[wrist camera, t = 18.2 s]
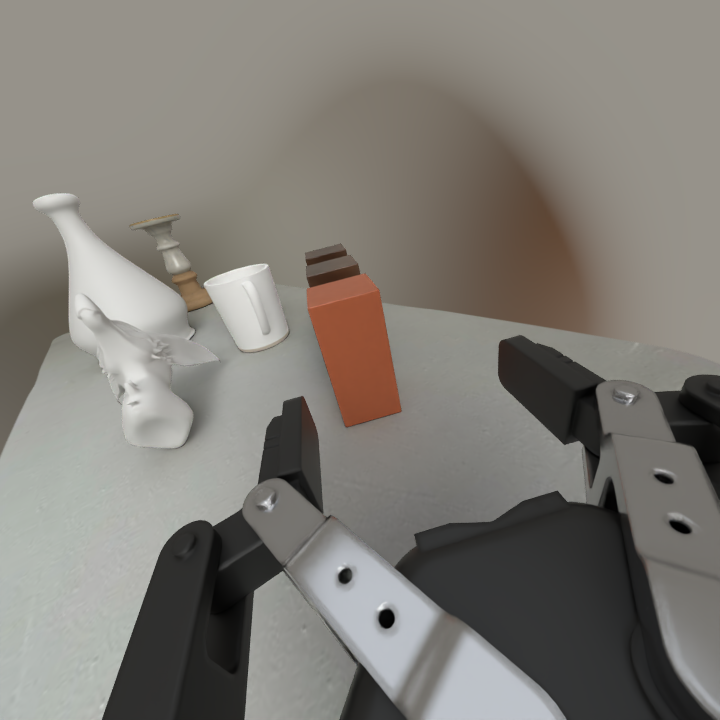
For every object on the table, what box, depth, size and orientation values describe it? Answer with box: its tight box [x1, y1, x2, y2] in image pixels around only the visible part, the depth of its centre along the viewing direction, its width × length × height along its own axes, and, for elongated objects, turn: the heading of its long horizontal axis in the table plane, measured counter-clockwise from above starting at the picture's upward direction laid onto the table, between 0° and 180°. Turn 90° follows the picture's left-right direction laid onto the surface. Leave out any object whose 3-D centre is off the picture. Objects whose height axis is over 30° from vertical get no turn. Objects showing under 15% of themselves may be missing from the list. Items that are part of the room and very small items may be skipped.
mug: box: [204, 264, 289, 352], centre depth 43 cm, size 11×9×10 cm
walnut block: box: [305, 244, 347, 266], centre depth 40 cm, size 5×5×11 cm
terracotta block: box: [307, 274, 402, 427], centre depth 25 cm, size 5×5×11 cm
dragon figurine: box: [74, 293, 220, 449], centre depth 28 cm, size 12×18×13 cm
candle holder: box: [129, 214, 213, 311], centre depth 71 cm, size 12×12×20 cm
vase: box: [33, 193, 195, 357], centre depth 48 cm, size 17×17×25 cm
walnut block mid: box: [306, 255, 360, 288], centre depth 33 cm, size 5×5×11 cm
